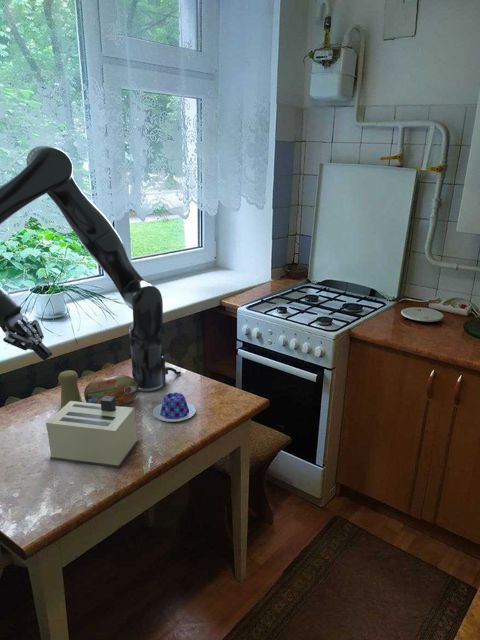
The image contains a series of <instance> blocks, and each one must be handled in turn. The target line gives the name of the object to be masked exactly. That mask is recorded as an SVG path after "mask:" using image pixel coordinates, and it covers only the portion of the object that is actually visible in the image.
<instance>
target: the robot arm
mask: <svg viewBox="0 0 480 640" xmlns="http://www.w3.org/2000/svg"><path fill="white" fill-rule="evenodd" d="M25 162H26V166H25V167H24V168H23V169H22V170H21V171H20V172H19V173H17V175H15V176H14V177H12V178H11V179H10V180H9V181H7V182H5V183H3V184H2V185H0V226H1V225H2V224H3V223H4V222H6V221H7V220H8V219H9V218H11V217H12V216H13V215H15V214H16V213H18V212H19V211H20V210H21V209H23V208H25V207H26V206H28V205H29V204H30V203H32V202H34V201H35V200H37V199H39V198H40V197H42V196H44V195H48V197H49V198H50V199H51V201H52V202H53V203H54V204H55V205H56V207H57V208H58V209H59V211H60V212H61V214H62V215H63V217H64V219H65V220H66V222H67V223H68V225H69V227H70V228H71V229H72V231H73V233H74V234H75V235H76V237H77V238H78V240H79V242H80V243H81V244H82V245H83V247H84V248H85V249H86V252H87V253H88V254H89V255H90V256H91V257H92V259H94V261H95V262H96V263H97V264H98V266H99V267H100V268H101V269H102V270H103V272H104V273H105V274H106V275H107V276H108V278H109V279H110V280H111V282H112V283H113V284H114V286H115V288H116V289H117V292H118V293H119V295H120V297H121V298H122V301H123V302H124V304H125V305H126V306H127V307H128V308H129V309H131V310H132V323H131V324H130V325H129V327H128V331H129V344H130V357H131V374H132V378H133V379H134V380H135V381H136V383H137V385H138V392H142V393H143V392H144V393H149V392H150V393H151V392H156V391H158V390H161V389H162V388H163V387H164V386H166V385H167V380H166V376H167V375H169V371H170V372H173V373H174V374H175V375H177V376H179V375H181V374H182V372H181V370H179V371H177V369H175V368H174V367H171V366H166V358H165V357H164V356H163V352H162V351H163V349H162V327H163V323H164V303H163V296H162V293H161V291H160V290H159V288H158V287H156V286H155V285H153V284H151V283H149V282H147V281H146V279H144V278H143V277H142V276H141V275H140V273H139V272H138V270H136V269H135V267H134V266H133V264H132V263H131V261H130V259H129V256H128V254H127V251H126V248H125V245H124V243H123V241H122V239H121V237H120V235H119V234H118V233H117V231H116V230H115V228H114V226H113V225H112V223H111V222H110V221H109V219H108V218H107V217H106V216H105V215H104V213H103V212H101V211H100V209H99V208H98V207H97V206H96V205H95V203H93V202H92V201H91V200H90V199H89V198H88V197H87V196H86V195H85V193H83V191H82V190H81V188H80V187H79V185H78V184H77V183H76V181H75V179H74V177H73V176H72V175H73V171H74V165H73V162H72V159H71V158H70V156H69V155H68V154H67V153H66V152H65V151H63V150H62V149H60V148H58V147H55V146H48V145H39V146H35V147H34V148H32V149H31V150H29V152H28V154H27V155H26V161H25ZM21 311H22V306H21V305H20V304H19V303H18V302H17V301H16V299H14V298H13V297H12V295H10V293H8V292H7V291H6V289H4V288H3V287H2V285H0V328H1V330H2V332H3V333H5V337H3V339H2V340H3V342H4V343H7V344H8V345H11V346H14V347H16V348H18V349H20V350H22V351H27V350H30V351H33V352H34V353H35V354H36V355H37V356H38V357H39V358H40V359H41V360H42V361H46V360H47V359H49V358H51V356H52V355H53V352H52V351H51V350H50V349H49V348H48V347H47V346H46V345H45V344H44V343H43V339H44V337H45V336H44V332H43V331H42V328H41V325H40V322H39V320H38V319H33V320H30V319H28V317H27V316H26V315H24V314H23V313H21Z"/></svg>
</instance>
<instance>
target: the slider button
mask: <svg viewBox="0 0 480 640" xmlns="http://www.w3.org/2000/svg"><path fill="white" fill-rule="evenodd" d="M115 407H116V403H115V397H110V396H104V397H103V398H102V399H101V409H102V411H111V412H112V411H113V410H114V408H115Z"/></svg>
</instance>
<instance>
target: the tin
mask: <svg viewBox="0 0 480 640" xmlns="http://www.w3.org/2000/svg"><path fill="white" fill-rule="evenodd" d="M138 394H139V391H138V385H137V383H136V381H135V380H134V379H133V377H131V376H130V375H128V374H127V375H126V374H120V375H115V376H110V377H104V378H98V379H94V380H92V381H90V382H89V383H88V384H87V385H86V387H85V389H84V393H83V397H84V401H85V403H94V404H101V399H102V398H103V397H104V396H110V397H115V403H116V406H122V405H127V404H130V403H131V402H133V401H134V400H135V399H136V398H137V396H138Z"/></svg>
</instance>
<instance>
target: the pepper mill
mask: <svg viewBox="0 0 480 640" xmlns="http://www.w3.org/2000/svg"><path fill="white" fill-rule="evenodd" d="M78 374H79V373H77V372H76V371H75V370H71V369H69V370H64V371H62V372H60V373H59V375H58V382H59V384H60V410H61V409H62V408H63V407H64V406H65V405H66V404H67V403H69V402H70V401H76V402H83V399H82V397H81V393H80V389H79V386H78V381H79V375H78Z"/></svg>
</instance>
